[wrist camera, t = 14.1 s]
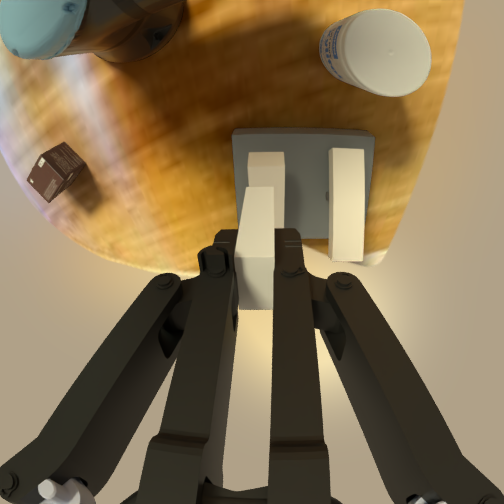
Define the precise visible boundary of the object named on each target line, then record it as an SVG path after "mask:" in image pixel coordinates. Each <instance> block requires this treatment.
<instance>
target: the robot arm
mask: <svg viewBox="0 0 504 504" xmlns="http://www.w3.org/2000/svg"><path fill="white" fill-rule="evenodd" d="M184 1H187V0H1V3H0V34H1V38H2V40H3V42H4V44H5V46H6V47H7V49H8V50H9V51H10V52H11V53H12V54H14V55H15V56H18V57H21V58H23V59H41V60H44V59H45V60H47V59H52V58H54V57H59V56H66V55H74V54H83V53H94V54H95V55H96V56H98V57H99V58H101V59H104V60H107V61H111V62H120V63H121V62H132V61H138V60H141V59H144V58H146V57H149V56H151V55H152V54H154V53H156V52H157V51H159V50H160V49H161V48H162V47H164V46H165V45H166V44H167V43H168V42H169V40H170V39H171V38H172V37H173V35H174V34H175V32H176V31H177V29H178V27H179V24H180V22H181V19H182V15H183V2H184ZM197 256H198V262H199V267H200V275H199V276H197V277H194V278H191V279H186V280H182V281H181V280H180V277H179V276H178V275H176V274H173V273H164V274H160V275H158V276H155V277H154V278H153V279H152V280H151V281H150V282H149V283H148V285H147V286H146V287H145V288H144V289H143V291H142V292H141V293H140V295H139V296H138V297H137V298H136V300H135V301H134V302H133V304H132V305H131V306H130V307H129V309H128V310H127V311H126V313H125V314H124V315H123V316H122V318H121V319H120V320H119V322H118V323H117V324H116V326H115V327H114V328H113V330H112V331H111V332H110V334H109V335H108V336H107V338H106V339H105V340H104V342H103V343H102V344H101V346H100V347H99V348H98V350H97V351H96V353H95V354H94V355H93V357H92V358H91V360H90V361H89V362H88V363H87V365H86V366H85V368H84V369H83V371H82V372H81V373H80V375H79V376H78V378H77V379H76V380H75V382H74V383H73V385H72V386H71V388H70V389H69V390H68V392H67V393H66V395H65V396H64V398H63V399H62V401H61V402H60V404H59V405H58V407H57V408H56V410H55V411H54V413H53V414H52V416H51V417H50V419H49V420H48V422H47V423H46V425H45V426H44V428H43V429H42V431H41V432H40V434H39V436H38V437H37V438H36V439H35V440H33V441H32V442H31V443H30V444H28V445H27V446H26V447H25V448H23V449H22V450H21V451H20V452H18V453H17V454H16V455H15V456H13V457H12V458H11V459H10V460H8V461H7V462H6V463H5V464H3V465H2V466H1V467H0V495H1V497H2V498H3V499H5V500H6V501H8V502H10V503H12V504H96V502H95V499H94V496H96V495H97V494H98V493H99V492H100V490H101V489H102V488H103V487H104V485H105V484H106V483H107V481H108V480H109V478H110V477H111V475H112V474H113V472H114V470H115V468H116V466H117V464H118V463H119V461H120V459H121V457H122V455H123V453H124V452H125V450H126V448H127V446H128V444H129V442H130V441H131V439H132V437H133V435H134V433H135V432H136V430H137V428H138V426H139V424H140V423H141V421H142V419H143V417H144V415H145V413H146V412H147V410H148V408H149V406H150V405H151V403H152V401H153V399H154V397H155V395H156V394H157V392H158V390H159V388H160V386H161V385H162V383H163V381H164V379H165V377H166V376H167V374H168V372H169V370H170V369H171V367H172V365H173V363H174V361H175V360H176V358H177V361H176V364H175V368H174V372H173V376H172V380H171V385H170V389H169V393H168V397H167V401H166V406H165V410H164V414H163V418H162V423H161V427H160V431H159V433H158V434H157V435H156V436H154V437H152V439H151V440H150V442H149V445H148V448H147V452H146V457H145V461H144V466H143V470H142V475H141V480H140V485H139V489H138V491H136V492H135V493H133V494H132V495H131V496H129V497H128V498H127V499H126V500H124V501H123V502H122V503H120V504H342V503H341V502H340V501H338V500H337V499H335V498H333V497H331V494H330V470H329V455H328V448H327V445H326V444H325V442H324V435H323V419H322V405H321V393H320V381H319V369H318V359H317V348H316V339H315V329H314V328H316V329H320V333H321V336H322V338H323V340H324V342H325V344H326V347H327V349H328V351H329V354H330V356H331V358H332V360H333V363H334V365H335V367H336V369H337V372H338V374H339V377H340V379H341V381H342V383H343V386H344V388H345V391H346V393H347V395H348V398H349V400H350V402H351V405H352V407H353V409H354V412H355V414H356V417H357V419H358V421H359V424H360V426H361V429H362V431H363V433H364V436H365V438H366V441H367V443H368V445H369V448H370V450H371V452H372V455H373V458H374V460H375V463H376V465H377V468H378V470H379V473H380V475H381V478H382V480H383V482H384V485H385V487H386V489H387V491H388V494H389V496H390V497H391V499H392V501H393V502H394V504H504V495H503V494H502V492H501V491H500V490H499V489H498V488H497V487H496V486H495V485H494V484H493V483H492V482H491V481H490V480H489V479H487V478H486V477H485V476H484V475H483V474H482V473H481V472H480V471H479V470H478V469H477V468H476V467H475V466H474V465H472V464H471V463H470V462H469V461H468V460H467V459H466V458H465V457H464V456H463V455H462V453H461V451H460V449H459V447H458V445H457V443H456V441H455V439H454V438H453V436H452V433H451V432H450V430H449V428H448V426H447V424H446V422H445V420H444V418H443V416H442V415H441V413H440V411H439V409H438V407H437V406H436V404H435V402H434V400H433V398H432V396H431V395H430V393H429V391H428V389H427V388H426V386H425V384H424V382H423V381H422V379H421V377H420V376H419V374H418V372H417V370H416V369H415V367H414V365H413V364H412V362H411V360H410V358H409V357H408V355H407V354H406V352H405V350H404V349H403V347H402V345H401V344H400V342H399V340H398V339H397V337H396V336H395V334H394V332H393V331H392V329H391V328H390V326H389V325H388V323H387V321H386V320H385V318H384V317H383V315H382V314H381V312H380V310H379V309H378V307H377V306H376V304H375V303H374V301H373V300H372V299H371V297H370V295H369V294H368V292H367V291H366V289H365V288H364V286H363V285H362V283H361V282H360V280H359V279H358V278H357V277H356V276H354V275H352V274H350V273H346V272H336V273H333V274H331V275H330V276H329V277H328V279H322V278H319V277H315V276H313V275H311V274H310V273H309V272H308V271H307V269H306V268H305V265H304V257H303V250H302V242H301V235H300V233H299V232H298V231H297V230H296V229H295V228H274V187H246V191H245V197H244V202H243V208H242V214H241V219H240V225H239V229H225V230H220V231H219V232H218V233H217V234H216V235H215V239H214V243H213V246H208V247H205V248H203V249H202V250H201V251H200V252H199V253H198V255H197ZM238 304H239V309H241V310H244V309H245V310H273V348H272V393H271V428H270V452H269V477H268V486H265V487H260V488H255V489H250V490H245V491H231V490H228V489H225V488H223V471H222V465H223V455H224V445H225V436H226V427H227V417H228V408H229V399H230V389H231V381H232V371H233V362H234V353H235V345H236V336H237V327H238Z"/></svg>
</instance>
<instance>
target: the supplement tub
mask: <svg viewBox="0 0 504 504" xmlns="http://www.w3.org/2000/svg"><path fill="white" fill-rule="evenodd" d="M319 54H320V58H321V60H322V62H323V64H324V66H325V67H326V69H327V70H328V71H329V72H330V73H331V74H332V75H333V76H334V77H336V78H337V79H339V80H341V81H343V82H345V83H348V84H351V85H353V86H356V87H358V88H361V89H363V90H366V91H368V92H371V93H374V94H377V95H381V96H388V97H400V96H405V95H408V94H410V93H412V92H414V91H416V90H417V89H418V88H420V87H421V86H422V85H423V83H424V82H425V80H426V79H427V77H428V75H429V72H430V68H431V50H430V46H429V43H428V41H427V38H426V36H425V35H424V33H423V32H422V30H421V29H420V28H419V26H418V25H417V24H416V23H415V22H414V21H412V20H411V19H410V18H408V17H407V16H405V15H403V14H401V13H399V12H397V11H394V10H389V9H370V10H365V11H362V12H359V13H356V14H354V15H351V16H349V17H347V18H344V19H342V20H340V21H338V22H335V23H334V24H332V25H331V26H329V27H328V28H327V29H326V30H325V31H324V33H323V34H322V37H321V39H320V43H319Z"/></svg>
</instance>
